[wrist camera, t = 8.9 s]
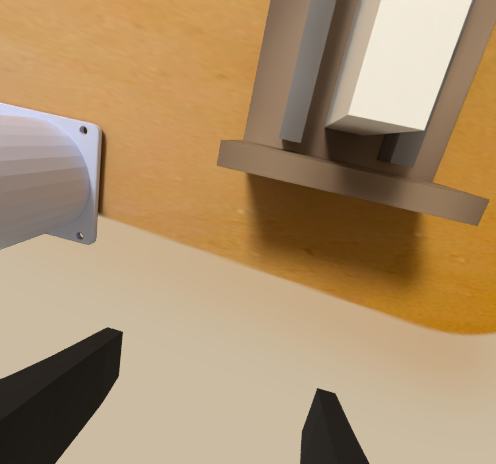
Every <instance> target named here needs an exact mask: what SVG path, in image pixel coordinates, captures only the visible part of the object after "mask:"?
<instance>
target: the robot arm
mask: <svg viewBox="0 0 496 464" xmlns="http://www.w3.org/2000/svg"><path fill="white" fill-rule="evenodd" d="M84 127H86V128H87V134H85V133H84ZM101 143H102V130H101V128H100V127H99V126H98V125H96V124H93V123H89V122H84V121H80V120H75V119H71V118H67V117H62V116H58V115H53V114H49V113H45V112H40V111H36V110H31V109H27V108H23V107H18V106H14V105H9V104H5V103H0V250H1V249H3V248H6V247H9V246H12V245H14V244H17V243H20V242H23V241H25V240H28V239H31V238H33V237H36V236H39V235H42V234H49V235H53V236H57V237H60V238H64V239H68V240H72V241H76V242H79V243H83V244H88V245H89V244H92V243H94V242H95V241H96V234H97V216H98V198H99V180H100V161H101ZM80 233H82V235H83V238H82V237H81V236H80ZM122 335H123V332H121V331H118V330H115V329H111V328H105V329H103V330H101V331H99V332H97V333H95V334H93V335H92V336H90V337H88V338H86V339H84V340H82V341H80V342H78V343H76V344H74V345H72V346H70V347H68V348H66V349H64V350H62V351H61V352H58V353H57V354H55V355H53V356H51V357H49V358H46V359H44V360H42V361H40V362H38V363H36V364H34V365H32V366H29V367H27V368H25V369H23V370H21V371H18V372H16V373H14V374H12V375H9V376H7V377H5V378H2V379H0V464H55V463H56V462H57V460H58V459H59V458H60V457H61V455H62V454H63V453H64V451H65V450H66V449H67V448H68V446H69V445H70V444H71V443H72V441H73V440H74V439H75V437H76V436H77V435H78V433H79V432H80V431H81V430H82V429H83V427H84V426H85V425H86V423H87V422H88V421H89V420H90V418H91V417H92V416H93V414H94V413H95V412H96V410H97V409H98V408H99V406H100V405H101V404H102V402H103V401H104V399H105V398H106V396H107V395H108V393H109V391H110V390H111V388H112V386H113V385H114V383H115V381H116V380H117V378H118V376H119V368H120V356H121V345H122ZM300 464H369V462H368V460H367V458H366V456H365V454H364V452H363V450H362V448H361V446H360V444H359V442H358V441H357V438H356V436H355V434H354V432H353V430H352V428H351V426H350V424H349V422H348V420H347V418H346V415H345V413H344V411H343V409H342V407H341V405H340V403H339V400H338V398H337V396H336V394H335V393H332V392H329V391H325V390H322V389H318V388H317V391H316V394H315V396H314V399H313V402H312V405H311V408H310V411H309V414H308V416H307V419H306V422H305V425H304V427H303V430H302V440H301V460H300Z"/></svg>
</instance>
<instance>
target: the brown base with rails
mask: <svg viewBox="0 0 496 464" xmlns="http://www.w3.org/2000/svg"><path fill="white" fill-rule="evenodd" d="M358 1H359V0H271V1H270V6H269V11H268V16H267V21H266V26H265V32H264V37H263V42H262V47H261V52H260V57H259V62H258V68H257V73H256V78H255V83H254V88H253V93H252V98H251V104H250V109H249V114H248V119H247V124H246V129H245V135H244V140H221V144H220V150H219V155H218V161H217V166H220V167H225V168H229V169H233V170H238V171H242V172H246V173H251V174H255V175H259V176H264V177H268V178H272V179H277V180H281V181H285V182H290V183H294V184H298V185H303V186H307V187H311V188H316V189H320V190H324V191H329V192H333V193H337V194H341V195H346V196H350V197H354V198H359V199H363V200H367V201H372V202H376V203H380V204H385V205H389V206H393V207H398V208H402V209H406V210H411V211H415V212H419V213H424V214H428V215H432V216H437V217H441V218H445V219H450V220H454V221H458V222H462V223H467V224H471V225H475V226H478V224H479V222H480V220H481V218H482V215H483V213H484V211H485V209H486V207H487V205H488V203H489V199H486V198H482V197H479V196H476V195H472V194H469V193H466V192H463V191H459V190H456V189H453V188H450V187H446V186H443V185H440V184H436V183H433V182H432V181H433V179H434V176H435V174H436V171H437V168H438V166H439V163H440V161H441V158H442V156H443V153H444V151H445V148H446V146H447V143H448V141H449V138H450V136H451V133H452V131H453V128H454V126H455V123H456V121H457V118H458V115H459V113H460V110H461V108H462V105H463V103H464V100H465V98H466V95H467V93H468V90H469V88H470V85H471V83H472V80H473V78H474V75H475V73H476V70H477V68H478V65H479V63H480V60H481V57H482V55H483V52H484V50H485V47H486V45H487V42H488V40H489V37H490V35H491V32H492V30H493V27H494V25H495V22H496V0H472V2H471V5H470V8H469V10H468V13H467V16H466V18H465V21H464V24H463V27H462V29H461V32H460V35H459V37H458V40H457V43H456V46H455V48H454V51H453V54H452V56H451V59H450V62H449V65H448V67H447V70H446V73H445V75H444V78H443V81H442V84H441V86H440V89H439V92H438V94H437V97H436V100H435V103H434V105H433V108H432V111H431V113H430V116H429V119H428V122H427V124H426V127H425V130H423V131H412V132H400V133H389V134H378V135H366V136H362V135H357V134H352V133H348V132H343V131H338V130H334V129H329V128H324V127H325V123H326V119H327V116H328V112H329V108H330V105H331V101H332V97H333V93H334V90H335V86H336V82H337V79H338V75H339V71H340V68H341V64H342V60H343V56H344V53H345V49H346V45H347V42H348V38H349V34H350V31H351V27H352V23H353V19H354V16H355V12H356V8H357V5H358Z"/></svg>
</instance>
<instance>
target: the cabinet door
mask: <svg viewBox="0 0 496 464" xmlns="http://www.w3.org/2000/svg"><path fill="white" fill-rule="evenodd" d="M471 2H472V0H359V1H358V5H357V8H356V12H355V16H354V19H353V23H352V27H351V31H350V34H349V38H348V42H347V45H346V49H345V53H344V56H343V60H342V64H341V68H340V71H339V75H338V79H337V82H336V86H335V90H334V93H333V97H332V101H331V105H330V108H329V112H328V116H327V119H326V123H325V127H324V128H329V129H334V130H338V131H343V132H348V133H352V134H357V135H362V136H366V135H378V134H389V133H400V132H412V131H423V130H425V127H426V124H427V122H428V119H429V116H430V113H431V111H432V108H433V105H434V103H435V100H436V97H437V94H438V92H439V89H440V86H441V84H442V81H443V78H444V75H445V73H446V70H447V67H448V65H449V62H450V59H451V56H452V54H453V51H454V48H455V46H456V43H457V40H458V37H459V35H460V32H461V29H462V27H463V24H464V21H465V18H466V16H467V13H468V10H469V8H470V5H471Z"/></svg>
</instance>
